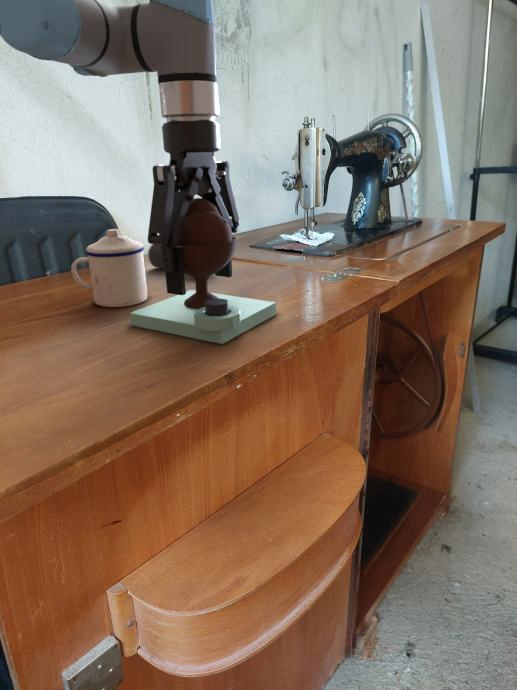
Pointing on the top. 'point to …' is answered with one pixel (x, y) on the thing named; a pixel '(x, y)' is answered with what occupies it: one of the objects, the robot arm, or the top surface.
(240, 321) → the scale
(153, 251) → the flashlight
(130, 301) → the teacup with lid
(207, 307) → the tare button
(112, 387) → the top surface
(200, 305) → the ice cream bowl
